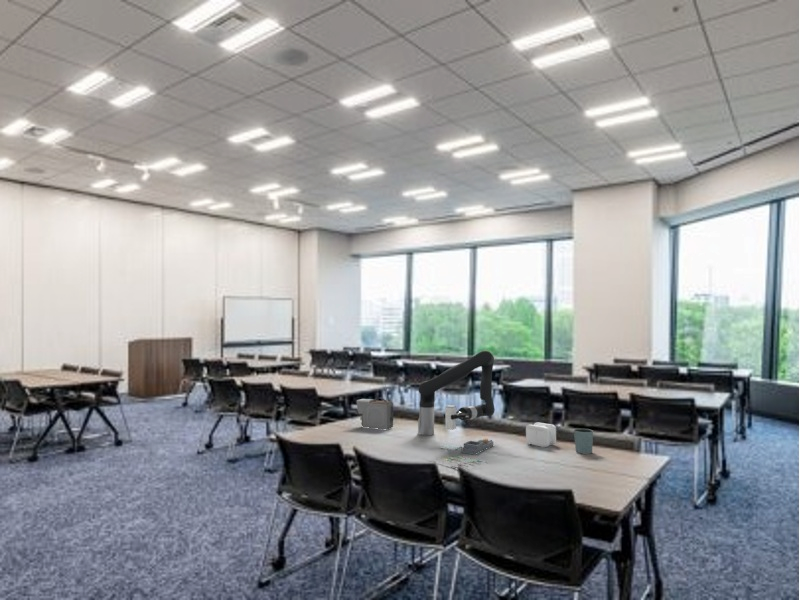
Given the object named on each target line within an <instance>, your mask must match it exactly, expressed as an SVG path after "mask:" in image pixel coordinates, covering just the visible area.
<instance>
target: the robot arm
mask: <svg viewBox="0 0 800 600" xmlns="http://www.w3.org/2000/svg"><path fill="white" fill-rule="evenodd" d="M494 362H495V357H494V354H493V353H492V352H490V350H486V349H485V350H481V351H479V352H478V353H476V354H474V355H473V356H471V357H470V358H469V359H466V360H464V361H462V362H459V363H458V364H456V365H455V364H454V365H453V366H451V367H450V368H448V369H447V370H446V369H445V371H443V372H441V374H439V375H437V376H436V377H434V378H432V379H429V380H425V381H423V382H422V383H420V384H419V386H418V393H419V395H420V399H419V418H417V425H418V426H417V434H418V435H421V436H433V435H434V434H435V400H436V396H435V395H436V392H437V391H438V390H440V389H442V388H444V387H447V386H449V385H451V384H452V385H453V384H454V383H457V382H458V381H461V380H463V379H464V378H466V377H467V376H468V375H470V374H471V373H472V371H474V370H476V369H478V368H480V367H481V380H480V386H479V398H480V401H481V400H482V401H484V404H483V403H481V404H476V405H472V406H471V405H470V406H469V405H468V406H463V407H460V408H459V409H458V410H456V415H451V419H456V420H461V421H464V422H465V421H468V420H474V419H478V418H480V417H491V416H493V415H494V414H495V412H496V411H495V404H494V400H493V395H492V394H493V391H492V390H493V384H492V382H493V381H492V379H493V377H492V376H493V367H494ZM443 418H444V419H445V413H443Z"/></svg>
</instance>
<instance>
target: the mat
mask: <svg viewBox="0 0 800 600" xmlns="http://www.w3.org/2000/svg"><path fill="white" fill-rule="evenodd" d="M441 448H442V449H441ZM462 448H463V447H462V445H455V444H449V443H447V444H445V445H443V446H440V448H439V449H441V450H447V449H448V450H449V451H454V450H455V451H457V450H459V449H462ZM456 449H457V450H456Z"/></svg>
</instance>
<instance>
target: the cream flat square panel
mask: <svg viewBox="0 0 800 600" xmlns="http://www.w3.org/2000/svg"><path fill="white" fill-rule="evenodd" d="M462 456H463V457H462V459H463V460H466V458H467V457H466V456H465V455H462ZM457 458H458V459H457ZM449 459H450V460H452V462H451V463H454V461H453V460H456V461H458V462H461V455H458V456H456V457H453V456H450V457H449ZM445 460H446V461H447V460H448V458H445ZM473 461H474V460H468V461H467V463H473ZM480 461H481V462H480ZM477 463H478V464H477ZM482 463H485V461H484V460H480V459H479V458H478V459H476V461H475V463H474V464H477V465H479V464H481V465H482ZM458 464H459V465H458V466H463V465H464V467H466V466H467V464H464V463H458Z"/></svg>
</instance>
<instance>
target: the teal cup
mask: <svg viewBox="0 0 800 600" xmlns="http://www.w3.org/2000/svg"><path fill="white" fill-rule="evenodd" d="M573 436H574V445H575V453H577V452H578V453H577V454H580V453H583V454H582V455H591V454H590V453H592V454H593V445H594V444H593V443H594V441H593V438H594V430H592V429H589V428H575V429H573Z"/></svg>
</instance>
